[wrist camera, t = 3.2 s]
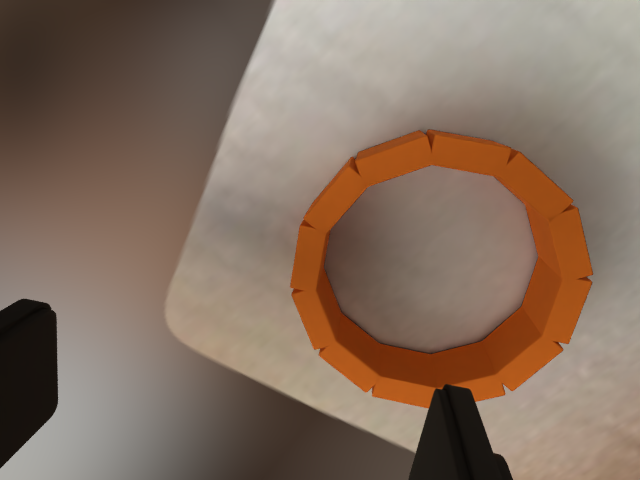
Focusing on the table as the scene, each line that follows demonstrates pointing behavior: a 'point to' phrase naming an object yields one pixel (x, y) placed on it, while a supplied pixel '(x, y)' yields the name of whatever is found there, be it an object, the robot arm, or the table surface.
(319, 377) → the table surface
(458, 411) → the robot arm
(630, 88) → the table surface
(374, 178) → the ring
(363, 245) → the table surface
